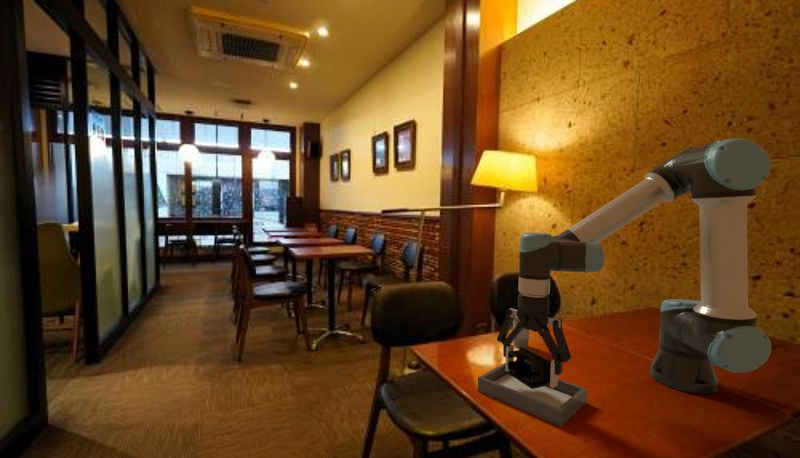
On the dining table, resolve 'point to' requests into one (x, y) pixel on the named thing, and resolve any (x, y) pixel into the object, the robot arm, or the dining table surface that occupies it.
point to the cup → (521, 335)
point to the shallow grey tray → (534, 396)
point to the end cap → (529, 368)
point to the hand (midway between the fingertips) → (530, 377)
